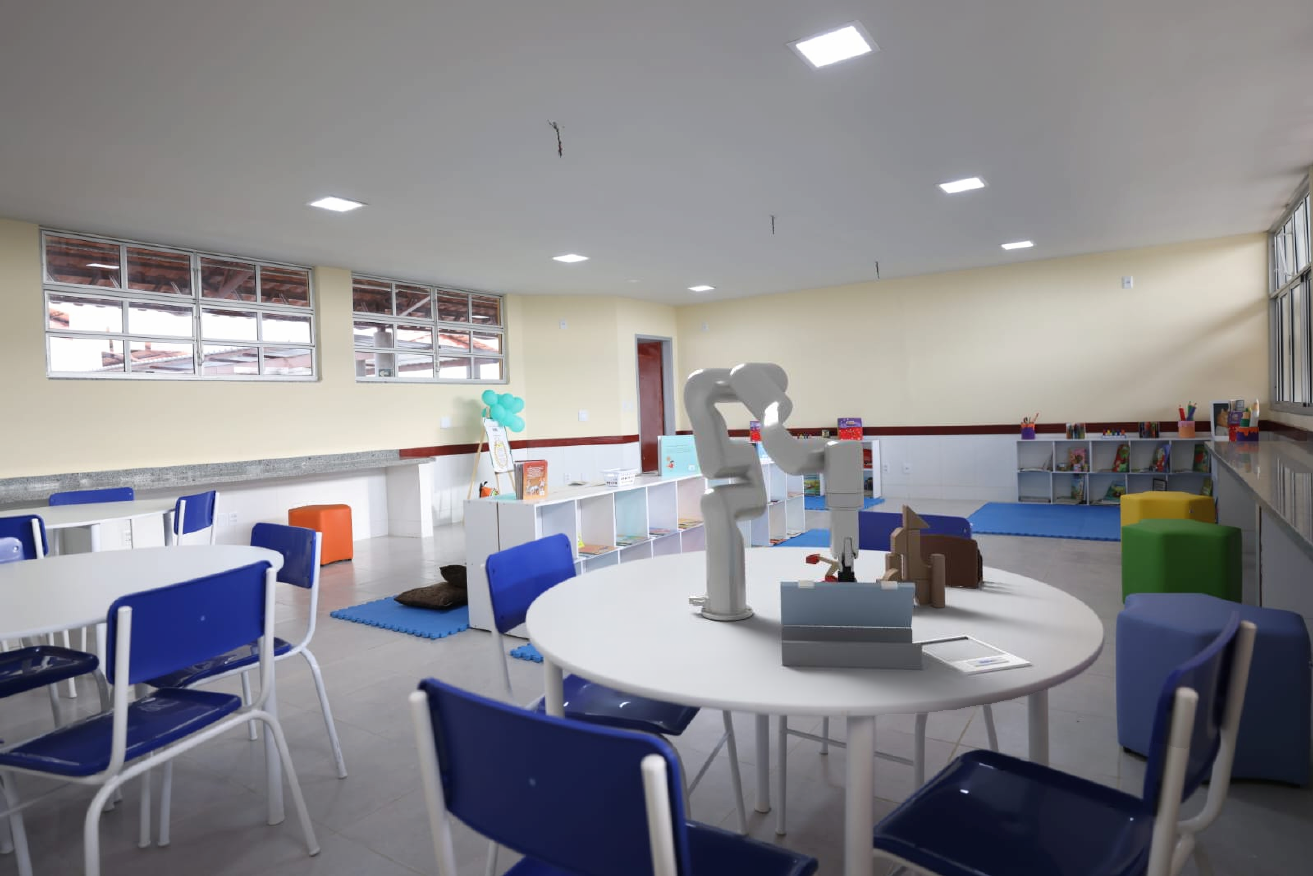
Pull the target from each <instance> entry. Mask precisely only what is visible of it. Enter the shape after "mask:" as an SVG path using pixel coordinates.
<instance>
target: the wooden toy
mask: <svg viewBox="0 0 1313 876" xmlns="http://www.w3.org/2000/svg"><path fill="white" fill-rule="evenodd" d="M926 529H927V530H928V529H931V526H930V525H929V524H928V523H927V522H926V521H925V520H924V519H922V518H921V517H920V515H918V514H917V513H916V512H915V511H914V510H913V509H912V508H911V507H910V506H908V505H907V504H902V527H896V528H895V529H894V531H892V533H891V534H890V553H889V552H888V553H885V554H884V558H885V559H884V564H885V567H884V569H885V570H884V571H885V573H884V574H883V575H882V578H875V583H881V581H897V583H915V597H914V603H916V604H918V605H920V606H928V605H930V606H932V607H933V608H936V609H943V608H946V586H945V556H944V555H942V554H932V555H931V567H930V566H928V565H926V564H924V563H923V561H922V560H921V558H920V534H921V530H926ZM902 555H903V565H902ZM903 572H904V578H903Z"/></svg>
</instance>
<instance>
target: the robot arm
mask: <svg viewBox="0 0 1313 876" xmlns="http://www.w3.org/2000/svg"><path fill="white" fill-rule="evenodd" d="M788 387H789V378H788V375H787V373H786V372H785V369H783V367H781V366H780V365H778V364H776V363H772V362H743V363H740V364H739V365H736V366H735V367H734V368H727V367H726V368H724V367H723V368H722V367H719V368H718V367H709V368H701V369H697V370H696V371H694V372H692V373H691V374H689V376H688V378H687V379H686V382H685V383H684V388H683V394H682V396H683V404H684V408H685V412H686V414H687V416H688V419H689V423H690V426H691V429H692V430H691V431H692V434H693V440H694V446H695V452H696V457H697V462H698V467H699V470H700V473H701V474H702V476H703V477H704V478H705V479H707V480H712V481H714V480H715V481H716V480H717V481H718V480H729V479H733V480H734V481H733V482H734V483H727V484H719V485H718V484H717V485H714V486H711V487H709V488H708V489H706V490H705V491H704V492H703V493H702V494H701V497H700V501H699V507H700V513H701V518H702V523H703V528H704V529H703V530H704V540H705V569H706V571H705V573H706V593H705V595H701V596H693V595H692V596H691V595H690V596H689V597H688V601H689V602H688V604H689V605H692V606H693V607H701V606H702V607H701V609H700V614H701V616H702V617H704V618H707V619H710V620H714V621H726V622H727V621H739V620H744V619H747V618H750V617H751V616H753V612H754V611H753V607H751V606H750V605H748V604H747V592H746V591H747V590H746V589H747V587H746V584H747V582H746V581H747V580H746V549H745V548H746V547H745V539H744V536H743V533H742V531H741V530H740V528H739V526H738V524H737V523H741V522H742V523H743V522H748V521H749V522H750V521H754V520H757V519H760V518H762V517H763V516H764V514H766V511H767V509H768V495H767V487H766V484H765V483H766V482H765V478H764V474H763V469H762V463H761V459H760V456H759V453H758V451H757V449H756V447H755V446H754V445H753V444H752V443H751V442H749V441H747V440H742V439H734V440H733V439H732V440H731V439H730V435H729V431H728V426H727V425H728V424H727V422H726V420H725V417H724V415H722V413H721V412H720V410H719V409H718V408H717V407H716V406H715V404H728V403H729V404H730V403H736V404H737V403H742V404H743V405H744V407H745V408H746V409H747V410H748V411H749V412H750V413H751V414H752V416H753V417H754V418H755V419H756V420H757V421H758V423H759V424H760V425H759V437H760V441H761V445H762V448H763V450H764V451H765V453H766V455H768V457H769V458H770V459H771V460H772V462H773V463H774V464H775V465H776V466H777V467H778V468H779V470H782V472H784V473H785V474H787V475H790V476H795V477H801V476H808V475H809V476H810V475H820V474H821V475H822V474H824V489H825V490H824V492H825V494H824V496H825V497H824V499H825V501H824V502H825V503H824V504H825V509H827V510H830V514H829V515H830V516H829V531H830V532H829V538H830V539H829V552H830V555H831V556H832V558H833V559H834V560H837V561H838V570H837V578H838V582H855V578H856V577H855V576H856V575H855V574H856V573H855V560H857V559H858V558H859V550H860V547H859V546H860V544H859V543H860V540H859V538H860V536H859V535H860V534H859V533H860V531H859V529H860V528H859V526H860V524H859V510H863V509H865V497H864V495H865V494H864V493H865V492H864V490H865V489H864V488H865V487H864V450H863V449H864V448H863V444H862V443H861V441H859V440H857V439H834V438H828V437H816V438H815V437H814V438H799V439H798V438H797V439H796V438H795V437H794V436H793V435H792V434H791V433H790V432H789V431H788V430H787V428H786V427H785V426H784V425H783V424H784V423H785V422H786V421H787V420H788V419H789V417H790V416H791V414H792V412H793V408H794V407H793V406H794V405H793V401H792V399H791V398H790V397H789V396H788V395H787V394H786V391H787V390H788Z"/></svg>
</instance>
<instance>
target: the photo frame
mask: <svg viewBox="0 0 1313 876" xmlns="http://www.w3.org/2000/svg"><path fill="white" fill-rule="evenodd" d="M957 639H968V641H970V642H973V643H974V644H976V645H979V646H982V647H983V648H986V649H989V650H990V651H993V652H994V653H995V652H996V653H998V654H999V655H991V656H986V657H985V656H984V657H979V658H972V659H971V658H970V659H965V660H957V661H950V662H949V661H947V660H945V659H943V658H941V657H939V656H937V655H935V654H934V653H931V652H929V651H927V650H925V649H923V648H922V655H925V656H928V657H929V658H931V659H932V660H934V661H937V662H939V663H941V664H942V665H945V666H947V667H949V668H951V669H953V670H955V671H957V672H959V673H961V674H963V675H965V676H966V675H973V674H981V673H987V672H994V671H1001V670H1007V669H1014V668H1019V667H1020V668H1021V667H1026V666H1027V667H1028V666H1031V664H1032V663H1031V662H1030V661H1028V660H1026V659H1024V658H1021V657H1019V656H1016V655H1014V654H1012V653H1009V652H1007V651H1004V650H1003V649H1000V648H997V647H995V646H993V645H991V644H988V643H986V642H984V641H981V640H979V639H977V638H974V637H972V636H970V635H967V634H964V635H963V634H962V635H956V636H948V637H940V638H933V639H926V640H919V641H912V642H913V643H917V644H921V645H922V644H926V643H935V642H943V641H950V640H957Z"/></svg>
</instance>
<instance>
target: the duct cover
mask: <svg viewBox="0 0 1313 876" xmlns="http://www.w3.org/2000/svg"><path fill="white" fill-rule="evenodd" d="M779 583H780V588H779V589H780V623H781V624H780V626H821V627H874V628H911V629H912V625H913V624H912V623H913V622H912V621H913V614H914V606H915V605H914V604H915V598H914V597H915V583H897V581H881V583H876V582H866V581H865V582H860V581H859V582H858V581H857V582H821V581H814V580H813V579H812V580H808V579H807V580H801V579H799V580H797V581H779Z"/></svg>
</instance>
